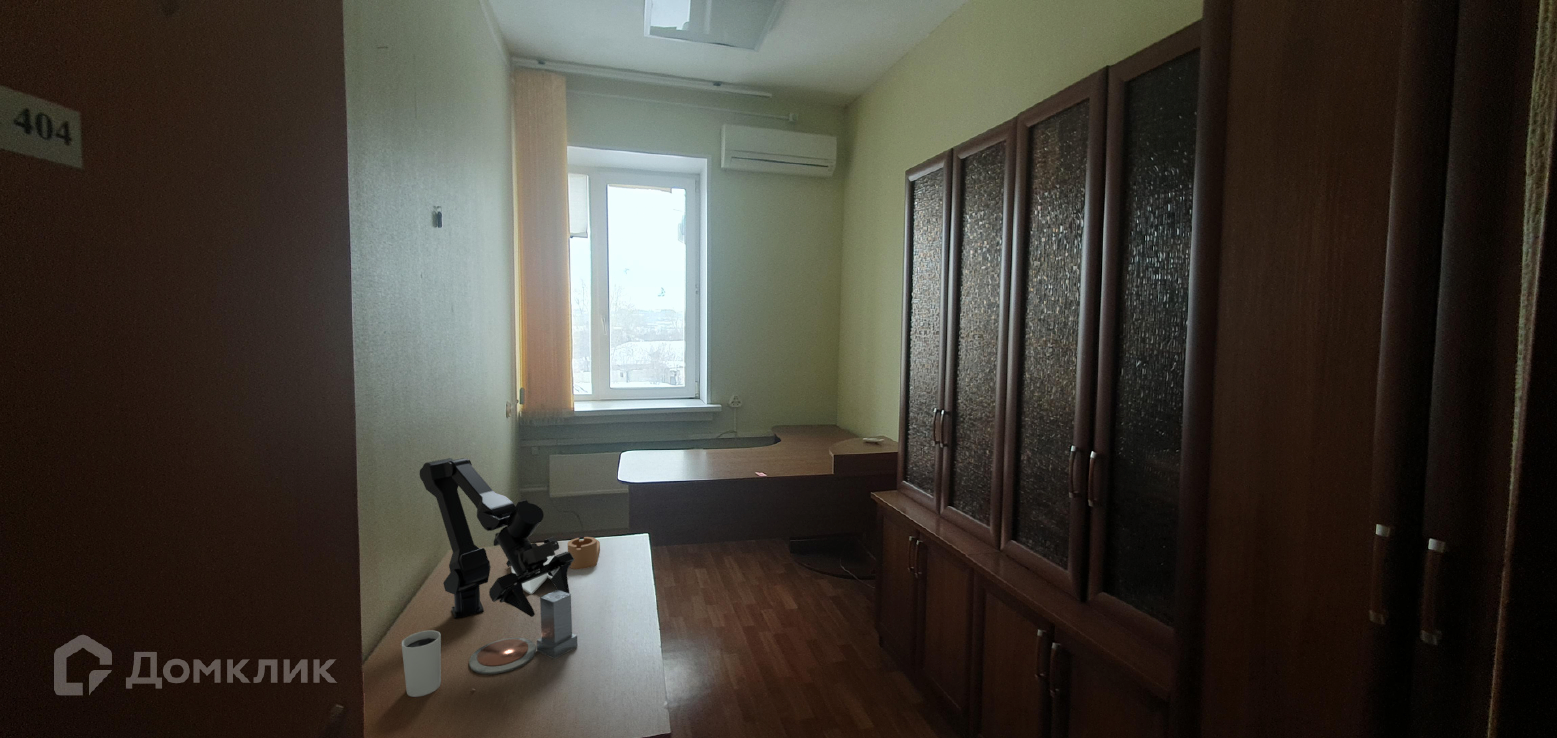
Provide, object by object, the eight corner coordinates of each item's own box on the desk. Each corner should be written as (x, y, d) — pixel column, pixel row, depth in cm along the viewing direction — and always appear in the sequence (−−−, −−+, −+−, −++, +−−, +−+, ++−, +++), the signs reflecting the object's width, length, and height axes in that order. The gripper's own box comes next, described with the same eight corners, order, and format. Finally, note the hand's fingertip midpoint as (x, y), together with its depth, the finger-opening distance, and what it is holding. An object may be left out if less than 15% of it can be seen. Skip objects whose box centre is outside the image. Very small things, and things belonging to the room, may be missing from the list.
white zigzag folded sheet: (541, 573, 184) (556, 556, 186) (548, 607, 162) (565, 588, 164) (509, 550, 180) (524, 533, 182) (512, 582, 158) (530, 562, 159)
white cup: (415, 678, 122) (412, 631, 121) (449, 677, 122) (447, 629, 122) (396, 699, 115) (394, 648, 114) (432, 697, 116) (430, 647, 115)
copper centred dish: (465, 652, 131) (465, 647, 131) (528, 635, 139) (528, 629, 138) (474, 681, 121) (473, 675, 120) (542, 661, 128) (541, 655, 128)
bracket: (596, 568, 177) (595, 545, 177) (566, 571, 175) (565, 547, 175) (601, 546, 195) (600, 525, 194) (574, 548, 193) (573, 527, 192)
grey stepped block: (536, 650, 132) (534, 597, 131) (559, 638, 137) (558, 587, 136) (554, 658, 129) (552, 604, 128) (577, 646, 134) (575, 593, 133)
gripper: (494, 541, 127) (529, 604, 122) (567, 517, 143) (601, 572, 138) (474, 570, 132) (507, 632, 126) (547, 544, 147) (579, 598, 142)
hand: (551, 607), depth 133 cm, fingers open, 9 cm apart
